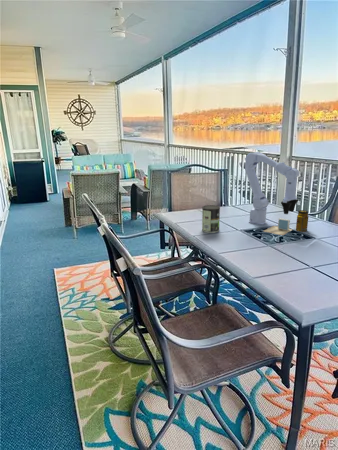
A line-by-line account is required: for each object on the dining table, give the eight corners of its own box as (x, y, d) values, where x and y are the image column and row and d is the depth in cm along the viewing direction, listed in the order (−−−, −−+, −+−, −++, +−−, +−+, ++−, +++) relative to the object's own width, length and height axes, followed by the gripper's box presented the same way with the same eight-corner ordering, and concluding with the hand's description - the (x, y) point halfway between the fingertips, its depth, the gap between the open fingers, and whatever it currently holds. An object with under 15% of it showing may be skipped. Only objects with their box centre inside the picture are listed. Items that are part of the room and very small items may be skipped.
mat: (262, 232, 184) (262, 231, 184) (273, 226, 194) (273, 225, 194) (282, 236, 176) (282, 235, 176) (292, 230, 186) (293, 229, 186)
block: (277, 228, 188) (278, 218, 186) (278, 227, 189) (279, 218, 187) (287, 230, 184) (288, 220, 182) (288, 229, 185) (289, 219, 184)
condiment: (292, 229, 187) (294, 210, 184) (305, 228, 189) (307, 209, 186) (299, 233, 181) (301, 213, 177) (313, 232, 182) (315, 212, 179)
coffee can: (219, 228, 193) (220, 205, 189) (218, 233, 183) (219, 209, 179) (202, 227, 195) (203, 204, 191) (200, 232, 185) (201, 208, 181)
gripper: (292, 192, 176) (290, 216, 180) (302, 188, 187) (300, 211, 191) (280, 191, 181) (278, 214, 185) (290, 187, 191) (288, 209, 195)
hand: (288, 212), depth 188 cm, fingers open, 7 cm apart
